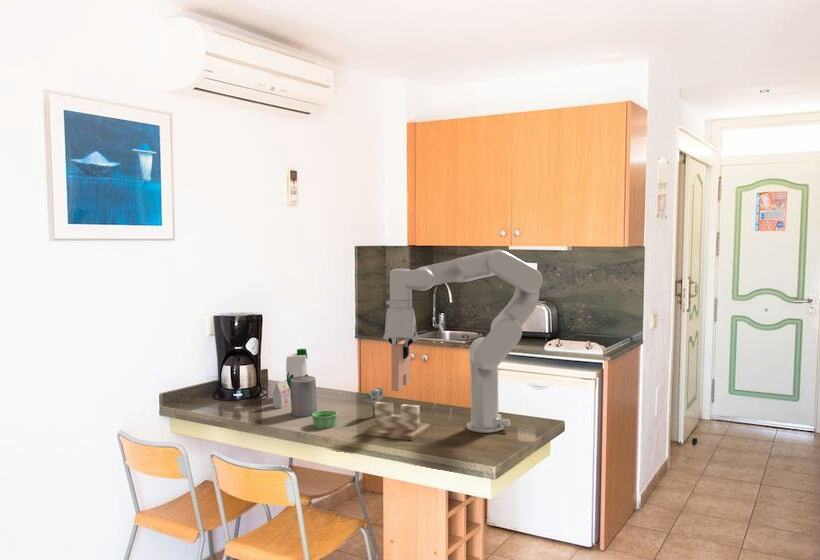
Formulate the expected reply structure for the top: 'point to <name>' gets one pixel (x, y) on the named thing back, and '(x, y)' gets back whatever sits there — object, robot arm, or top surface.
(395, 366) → the salmon pink flat slab
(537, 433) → the top surface
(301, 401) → the pillar candle
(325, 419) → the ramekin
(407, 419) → the slotted stand
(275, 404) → the white cardboard box
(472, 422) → the robot arm
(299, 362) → the milk carton
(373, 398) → the mechanical component
